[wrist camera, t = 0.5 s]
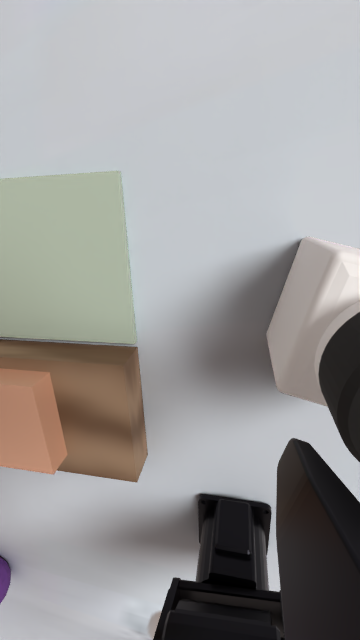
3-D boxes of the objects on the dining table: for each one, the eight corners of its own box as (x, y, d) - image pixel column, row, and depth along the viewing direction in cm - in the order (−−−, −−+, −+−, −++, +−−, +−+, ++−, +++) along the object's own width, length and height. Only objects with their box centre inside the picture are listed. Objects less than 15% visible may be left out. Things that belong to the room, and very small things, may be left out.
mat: (136, 341, 23) (134, 344, 23) (-70, 330, 27) (-76, 332, 26) (120, 171, 19) (117, 170, 18) (-122, 188, 23) (-129, 187, 22)
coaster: (67, 454, 25) (53, 474, 23) (-13, 443, 26) (-32, 461, 24) (49, 372, 22) (31, 387, 20) (-40, 365, 24) (-64, 378, 22)
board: (147, 454, 27) (137, 482, 24) (-34, 430, 31) (-61, 452, 28) (137, 347, 23) (123, 365, 20) (-69, 335, 27) (-103, 349, 24)
